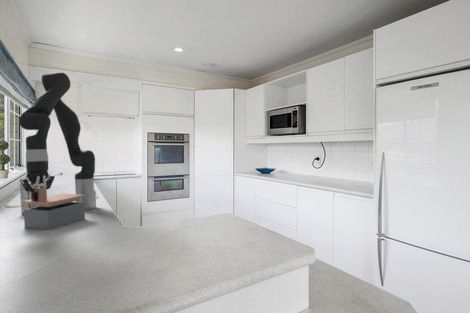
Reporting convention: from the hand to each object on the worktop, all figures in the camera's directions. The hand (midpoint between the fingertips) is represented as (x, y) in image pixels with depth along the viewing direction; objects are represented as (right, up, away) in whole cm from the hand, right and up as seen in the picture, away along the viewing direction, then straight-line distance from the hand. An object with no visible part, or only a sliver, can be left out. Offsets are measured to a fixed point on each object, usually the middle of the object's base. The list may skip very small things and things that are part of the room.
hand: (39, 200), depth 112 cm
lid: (+2, -2, +7) cm, 8 cm away
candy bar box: (-28, -12, +33) cm, 44 cm away
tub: (+2, -12, +8) cm, 14 cm away
